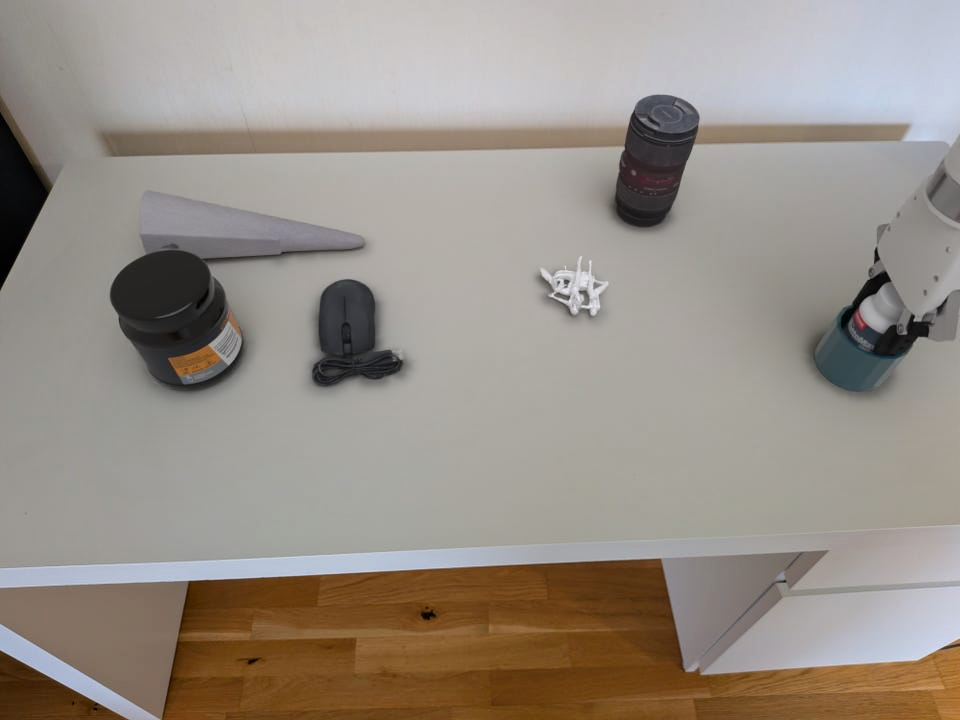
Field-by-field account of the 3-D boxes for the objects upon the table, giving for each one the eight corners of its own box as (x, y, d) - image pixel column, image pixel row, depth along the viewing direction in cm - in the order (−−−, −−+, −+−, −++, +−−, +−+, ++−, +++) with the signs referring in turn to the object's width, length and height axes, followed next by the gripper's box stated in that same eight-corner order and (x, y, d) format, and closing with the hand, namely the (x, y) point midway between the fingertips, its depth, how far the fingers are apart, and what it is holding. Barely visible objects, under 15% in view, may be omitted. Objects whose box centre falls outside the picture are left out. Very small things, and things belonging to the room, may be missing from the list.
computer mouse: (388, 280, 83) (384, 257, 80) (406, 374, 75) (403, 353, 72) (305, 293, 82) (298, 270, 79) (314, 391, 73) (307, 370, 70)
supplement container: (259, 370, 75) (228, 297, 65) (163, 410, 72) (115, 339, 62) (231, 307, 80) (198, 232, 71) (140, 341, 77) (93, 267, 68)
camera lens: (643, 240, 88) (670, 141, 76) (598, 207, 92) (617, 108, 80) (684, 214, 91) (716, 115, 79) (639, 183, 95) (664, 84, 83)
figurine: (606, 322, 80) (539, 318, 80) (602, 273, 84) (538, 269, 84) (612, 306, 77) (543, 301, 77) (607, 256, 82) (541, 252, 82)
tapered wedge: (361, 179, 88) (146, 176, 83) (364, 223, 83) (135, 223, 78) (362, 225, 94) (161, 225, 89) (364, 269, 89) (152, 271, 84)
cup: (870, 336, 79) (895, 302, 74) (896, 391, 74) (925, 358, 69) (805, 338, 78) (827, 303, 74) (827, 392, 74) (852, 359, 69)
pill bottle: (825, 340, 75) (861, 285, 68) (861, 324, 76) (900, 269, 69) (859, 375, 72) (901, 322, 65) (896, 359, 74) (941, 305, 66)
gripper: (1080, 264, 52) (948, 395, 66) (975, 129, 62) (881, 268, 77) (983, 266, 52) (872, 397, 66) (894, 130, 62) (815, 270, 76)
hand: (877, 327), depth 71 cm, fingers closed on pill bottle, 5 cm apart
